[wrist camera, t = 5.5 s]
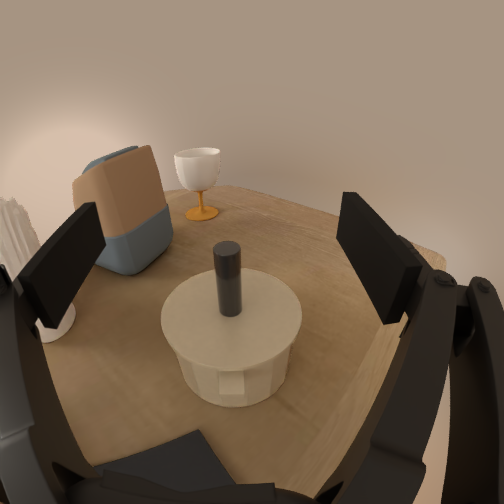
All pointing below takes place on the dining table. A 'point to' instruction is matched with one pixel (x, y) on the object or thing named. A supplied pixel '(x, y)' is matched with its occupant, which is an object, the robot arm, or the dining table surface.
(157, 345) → the dining table surface
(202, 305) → the cooker lid
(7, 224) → the decorative vase
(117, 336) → the dining table surface
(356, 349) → the dining table surface
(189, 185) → the cup
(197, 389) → the cooker
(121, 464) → the trivet
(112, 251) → the two-tone home speaker
